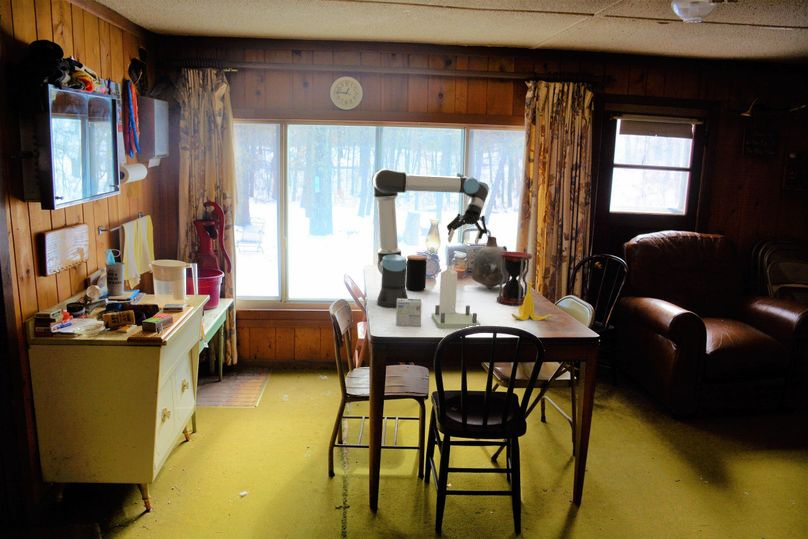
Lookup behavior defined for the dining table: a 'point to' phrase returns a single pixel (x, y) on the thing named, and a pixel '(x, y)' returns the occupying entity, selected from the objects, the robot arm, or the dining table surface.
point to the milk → (448, 291)
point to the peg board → (454, 319)
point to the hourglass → (513, 278)
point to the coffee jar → (416, 273)
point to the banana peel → (528, 307)
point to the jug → (489, 264)
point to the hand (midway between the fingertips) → (462, 242)
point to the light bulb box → (408, 312)
